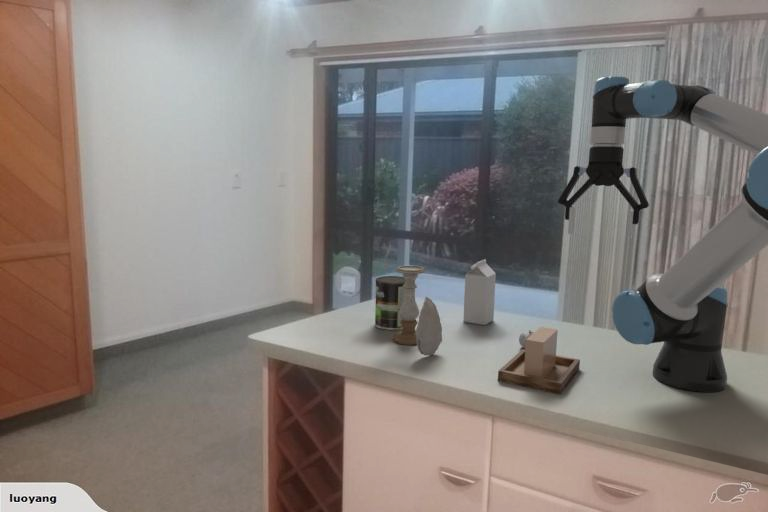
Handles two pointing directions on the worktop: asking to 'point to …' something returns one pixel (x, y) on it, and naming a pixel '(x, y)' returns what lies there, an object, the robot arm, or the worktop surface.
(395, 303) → the coffee can
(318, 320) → the worktop surface
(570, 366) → the tray
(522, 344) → the garlic
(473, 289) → the milk carton
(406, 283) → the candle holder
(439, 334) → the stone tool
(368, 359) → the worktop surface
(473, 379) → the worktop surface
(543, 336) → the tan rectangular block
